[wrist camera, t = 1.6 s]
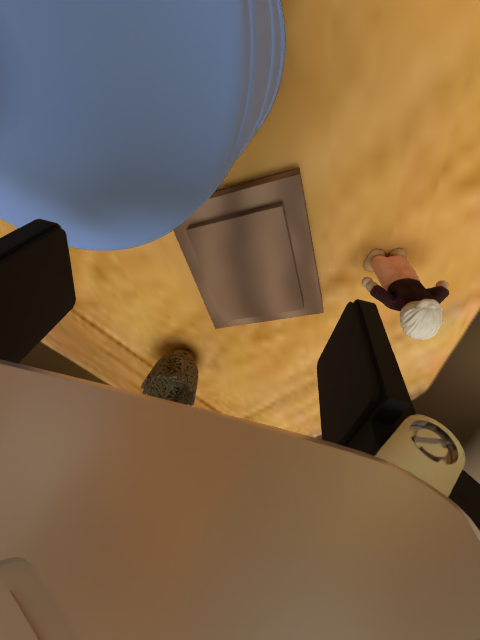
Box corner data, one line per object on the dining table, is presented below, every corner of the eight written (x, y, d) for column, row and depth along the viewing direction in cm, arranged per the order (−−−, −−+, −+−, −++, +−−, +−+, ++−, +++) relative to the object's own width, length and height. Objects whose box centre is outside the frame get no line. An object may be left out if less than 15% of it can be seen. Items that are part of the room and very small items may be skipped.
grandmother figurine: (354, 280, 37) (375, 353, 27) (353, 250, 35) (375, 318, 25) (427, 270, 35) (477, 345, 25) (430, 238, 33) (486, 307, 23)
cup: (180, 376, 53) (164, 417, 46) (151, 346, 49) (129, 386, 43) (216, 363, 49) (204, 405, 43) (187, 330, 46) (170, 370, 40)
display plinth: (299, 167, 31) (299, 178, 28) (322, 301, 40) (324, 320, 37) (172, 203, 35) (160, 215, 32) (219, 317, 44) (213, 336, 41)
